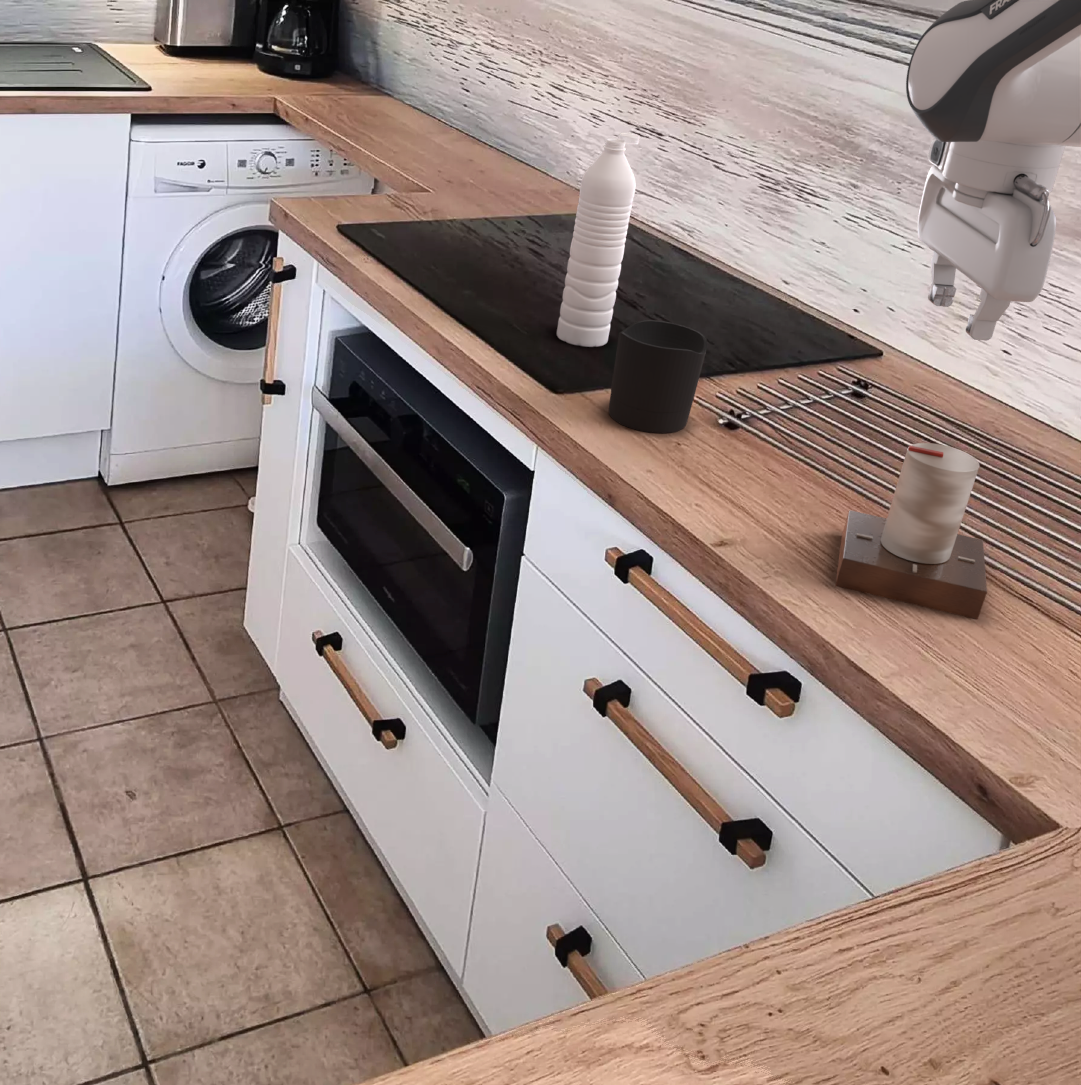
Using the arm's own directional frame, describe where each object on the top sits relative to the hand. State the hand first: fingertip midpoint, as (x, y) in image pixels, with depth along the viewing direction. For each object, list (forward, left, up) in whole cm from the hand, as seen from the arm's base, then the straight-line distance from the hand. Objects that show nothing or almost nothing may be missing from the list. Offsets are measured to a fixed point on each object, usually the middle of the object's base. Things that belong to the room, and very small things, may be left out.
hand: (957, 320), depth 126 cm
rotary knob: (-1, +8, -19) cm, 21 cm away
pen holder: (+27, -17, -22) cm, 38 cm away
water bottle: (+39, -41, -22) cm, 60 cm away
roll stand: (-1, +8, -22) cm, 23 cm away
